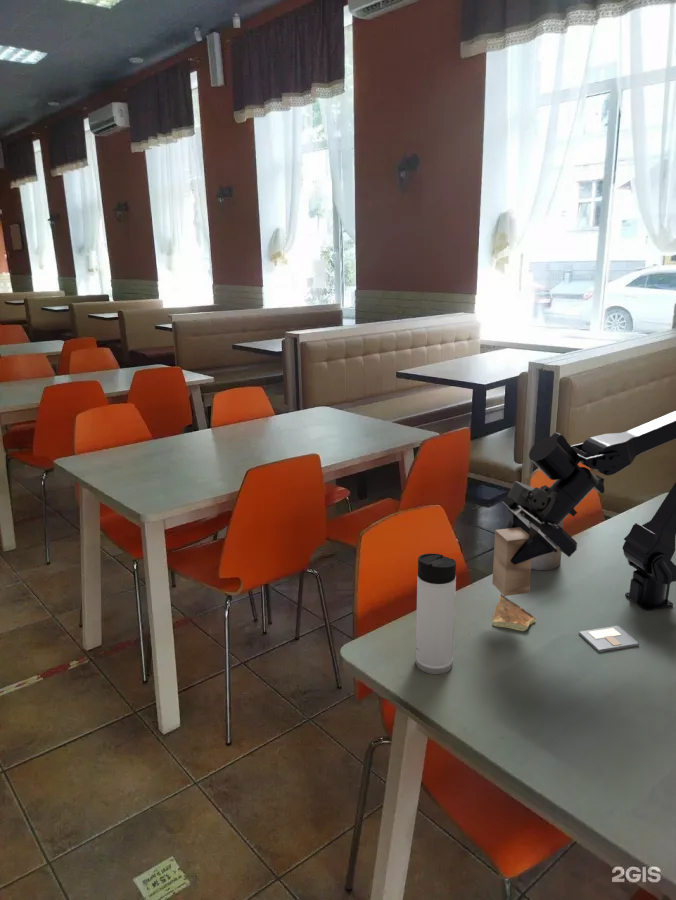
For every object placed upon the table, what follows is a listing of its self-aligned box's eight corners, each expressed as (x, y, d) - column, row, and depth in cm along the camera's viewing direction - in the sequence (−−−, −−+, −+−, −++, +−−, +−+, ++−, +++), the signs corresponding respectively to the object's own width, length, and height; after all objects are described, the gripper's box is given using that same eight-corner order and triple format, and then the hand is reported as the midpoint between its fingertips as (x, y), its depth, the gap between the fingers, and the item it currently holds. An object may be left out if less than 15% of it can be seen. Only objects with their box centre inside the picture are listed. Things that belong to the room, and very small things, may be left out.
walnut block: (516, 580, 127) (520, 527, 124) (529, 592, 122) (533, 537, 119) (492, 583, 126) (495, 529, 123) (504, 596, 121) (507, 540, 118)
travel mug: (406, 665, 113) (408, 557, 107) (430, 649, 117) (433, 545, 112) (436, 680, 109) (439, 570, 103) (460, 663, 113) (464, 556, 107)
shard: (500, 600, 134) (500, 592, 134) (539, 607, 132) (540, 599, 131) (490, 627, 125) (491, 619, 124) (532, 635, 122) (533, 627, 121)
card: (617, 628, 123) (617, 625, 123) (638, 645, 117) (639, 642, 117) (578, 634, 121) (579, 631, 121) (598, 652, 116) (598, 649, 115)
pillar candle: (553, 551, 155) (557, 491, 150) (566, 570, 145) (570, 506, 141) (511, 552, 155) (514, 491, 151) (521, 571, 146) (524, 507, 141)
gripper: (514, 453, 127) (458, 512, 128) (566, 484, 110) (501, 553, 110) (548, 488, 131) (494, 545, 132) (604, 523, 113) (541, 589, 114)
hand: (505, 556), depth 122 cm, fingers closed on walnut block, 5 cm apart
